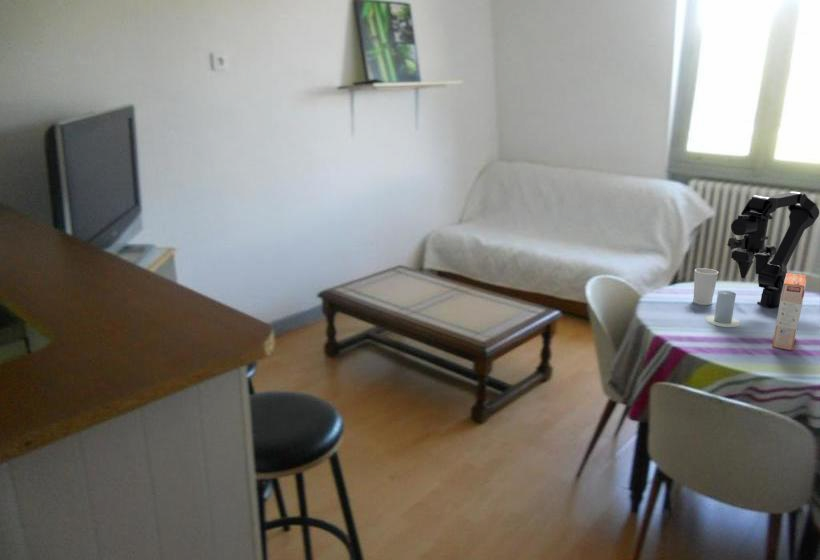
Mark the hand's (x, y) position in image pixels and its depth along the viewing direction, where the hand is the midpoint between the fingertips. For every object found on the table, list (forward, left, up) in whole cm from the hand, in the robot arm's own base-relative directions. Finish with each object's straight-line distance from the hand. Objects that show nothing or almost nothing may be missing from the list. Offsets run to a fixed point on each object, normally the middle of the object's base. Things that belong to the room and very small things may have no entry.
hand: (750, 276), depth 230 cm
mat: (+15, +6, -13) cm, 21 cm away
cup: (+7, -13, -13) cm, 20 cm away
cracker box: (+11, +27, -13) cm, 32 cm away
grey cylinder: (+15, +6, -13) cm, 21 cm away
